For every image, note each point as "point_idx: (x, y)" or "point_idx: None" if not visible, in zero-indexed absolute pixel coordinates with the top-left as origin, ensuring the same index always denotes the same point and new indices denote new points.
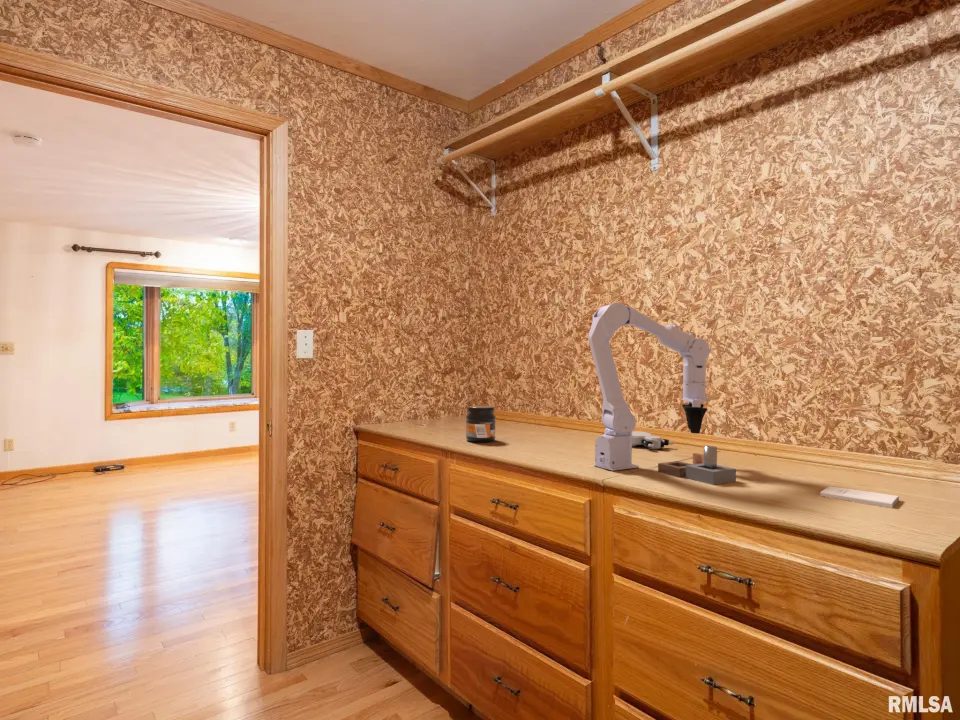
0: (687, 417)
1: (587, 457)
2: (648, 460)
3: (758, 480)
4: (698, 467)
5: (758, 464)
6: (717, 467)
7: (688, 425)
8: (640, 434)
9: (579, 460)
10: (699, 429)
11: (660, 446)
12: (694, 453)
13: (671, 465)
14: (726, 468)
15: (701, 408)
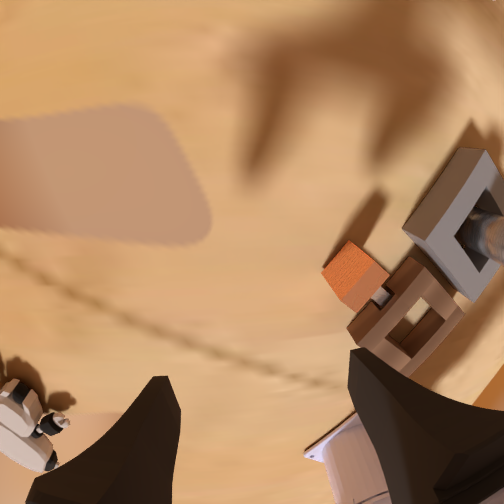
0: (171, 479)
1: (260, 493)
2: (225, 413)
3: (422, 72)
4: (491, 266)
5: (97, 44)
6: (469, 207)
7: (179, 431)
8: (11, 442)
9: (302, 492)
10: (380, 361)
11: (28, 391)
12: (359, 306)
13: (432, 342)
14: (490, 181)
15: (496, 457)
